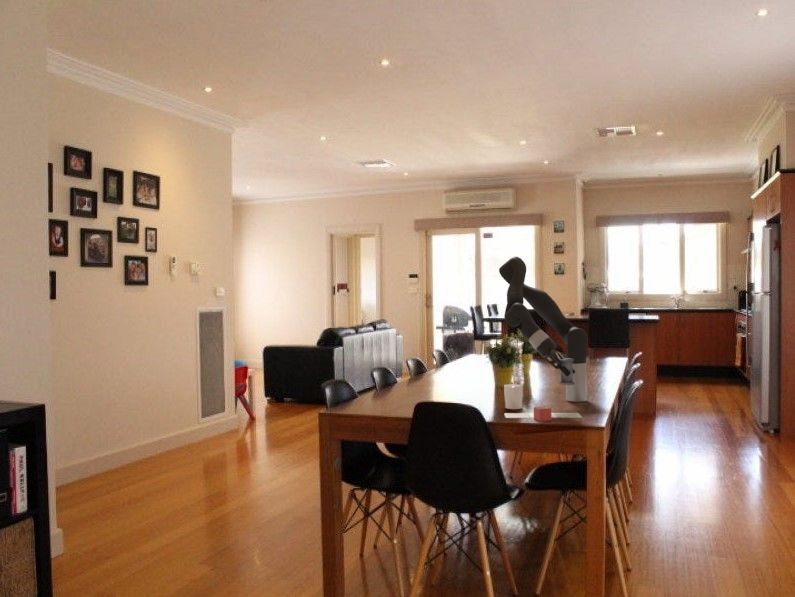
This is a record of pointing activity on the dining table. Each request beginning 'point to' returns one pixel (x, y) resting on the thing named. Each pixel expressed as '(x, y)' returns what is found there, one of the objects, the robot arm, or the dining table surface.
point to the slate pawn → (569, 365)
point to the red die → (542, 413)
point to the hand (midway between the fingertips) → (571, 374)
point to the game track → (553, 415)
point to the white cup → (513, 396)
